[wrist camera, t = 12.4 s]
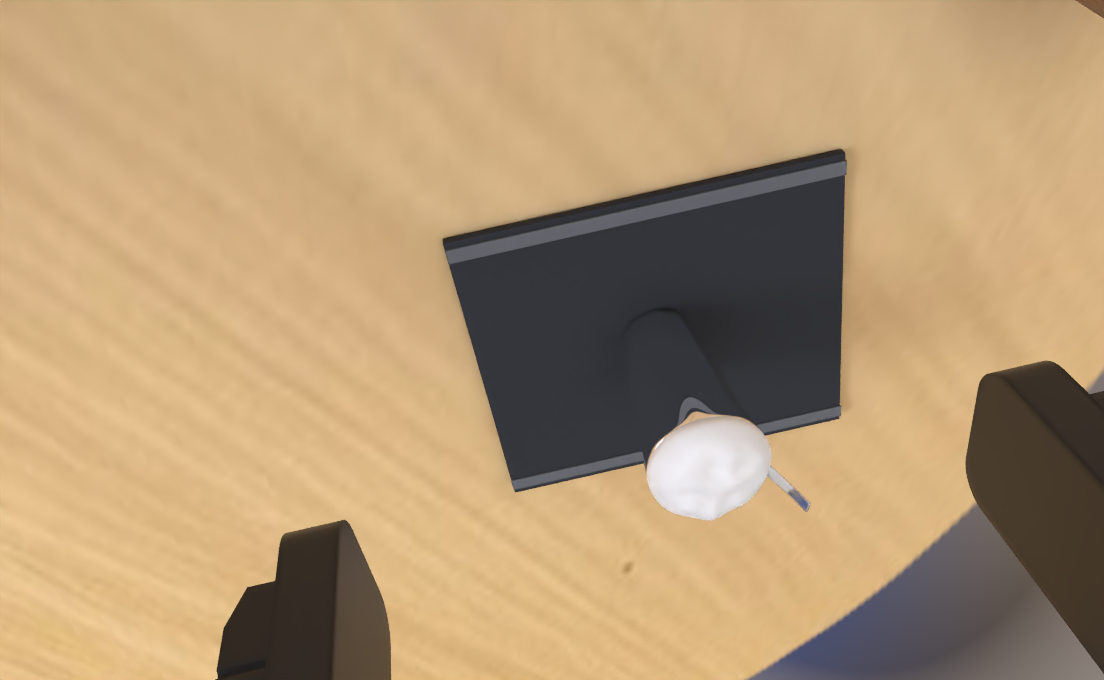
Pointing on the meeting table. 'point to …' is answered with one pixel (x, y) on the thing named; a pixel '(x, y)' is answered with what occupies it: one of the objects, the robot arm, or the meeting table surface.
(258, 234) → the meeting table surface
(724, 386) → the milkshake
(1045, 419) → the robot arm
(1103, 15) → the coffee cup
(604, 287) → the desk pad
